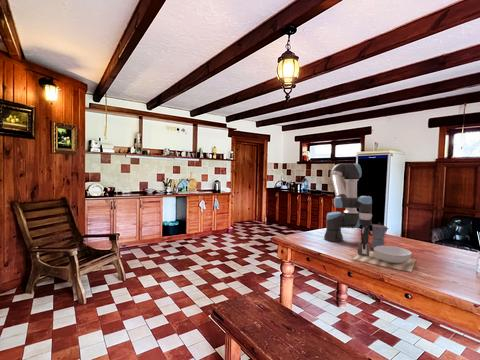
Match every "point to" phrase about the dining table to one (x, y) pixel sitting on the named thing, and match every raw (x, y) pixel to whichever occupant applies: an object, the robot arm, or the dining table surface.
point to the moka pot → (378, 235)
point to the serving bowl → (392, 254)
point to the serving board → (373, 259)
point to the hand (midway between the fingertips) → (364, 253)
